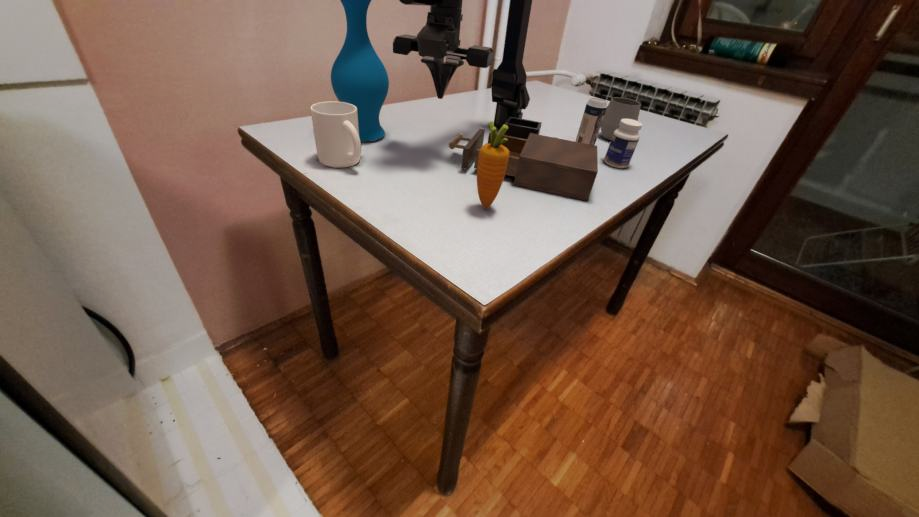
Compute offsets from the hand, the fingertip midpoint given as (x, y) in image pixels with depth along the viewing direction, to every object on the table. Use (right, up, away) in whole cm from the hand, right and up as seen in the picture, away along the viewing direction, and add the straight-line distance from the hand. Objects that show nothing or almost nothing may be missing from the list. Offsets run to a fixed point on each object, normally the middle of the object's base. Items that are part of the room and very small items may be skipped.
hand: (440, 98), depth 75 cm
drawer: (+11, -12, +4) cm, 16 cm away
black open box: (+18, -6, +15) cm, 24 cm away
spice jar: (+35, -6, +18) cm, 40 cm away
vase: (-19, -4, +11) cm, 22 cm away
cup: (+47, +1, +27) cm, 55 cm away
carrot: (+8, -24, -11) cm, 28 cm away
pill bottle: (+41, -10, +12) cm, 44 cm away
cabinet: (+24, -16, +2) cm, 29 cm away
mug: (-19, -14, -2) cm, 24 cm away
